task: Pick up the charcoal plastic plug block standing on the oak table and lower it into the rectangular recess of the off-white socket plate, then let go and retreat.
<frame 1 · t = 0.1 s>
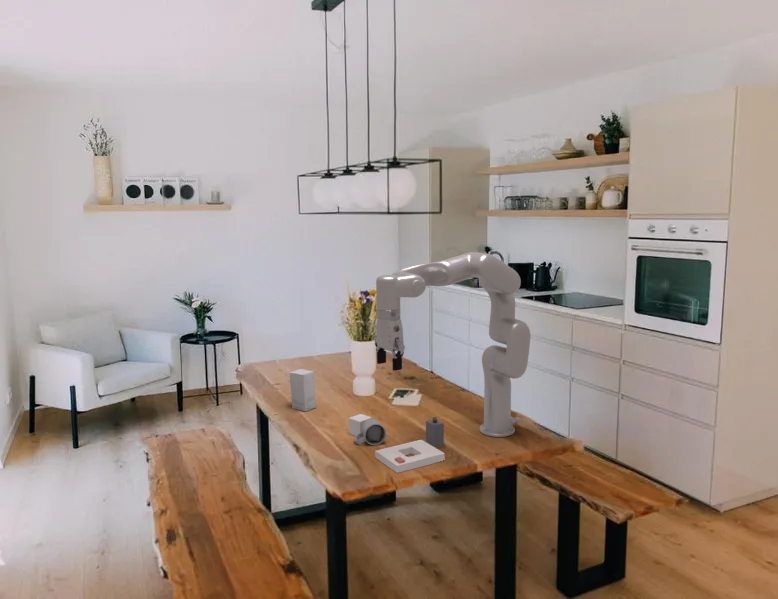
hand: (389, 366, 204), 31 cm above the table, fingers open, 9 cm apart
socket plate: (409, 458, 208), on the table
plug: (434, 444, 220), on the table
light grey cube: (360, 433, 232), on the table
ceramic mug: (369, 442, 223), on the table
skincare box: (303, 408, 260), on the table
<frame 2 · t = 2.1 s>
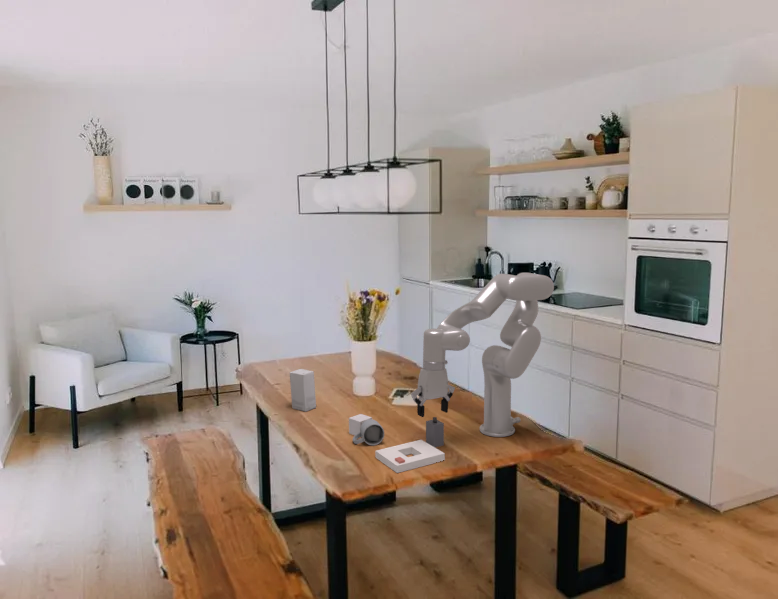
hand: (432, 413, 218), 11 cm above the table, fingers open, 9 cm apart
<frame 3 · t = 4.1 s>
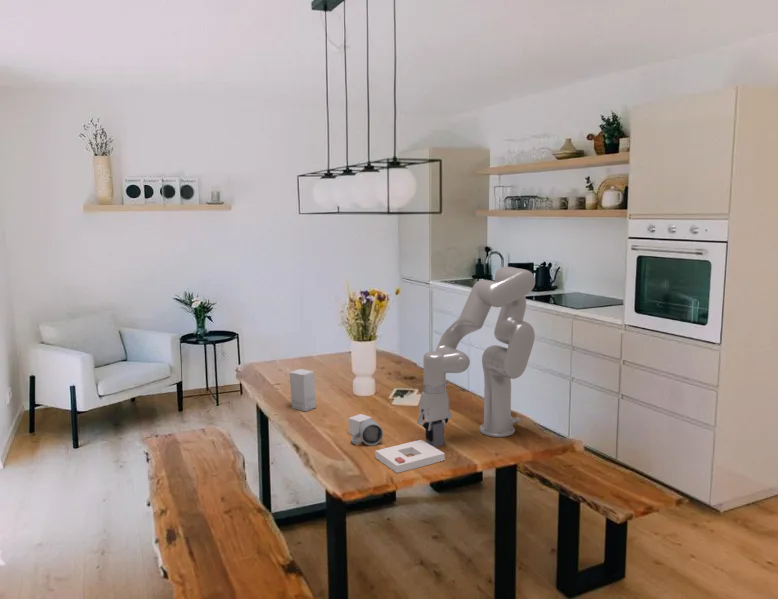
hand: (434, 438, 220), 2 cm above the table, fingers closed on plug, 4 cm apart
plug: (435, 444, 220), on the table, touching gripper
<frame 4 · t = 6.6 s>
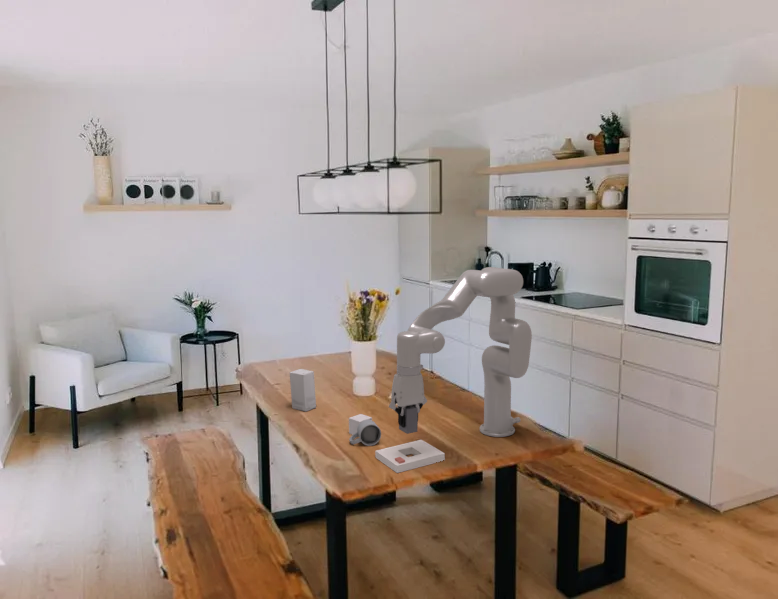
hand: (408, 424, 206), 12 cm above the table, fingers closed on plug, 4 cm apart
plug: (408, 430, 206), point 10 cm above the table, touching gripper
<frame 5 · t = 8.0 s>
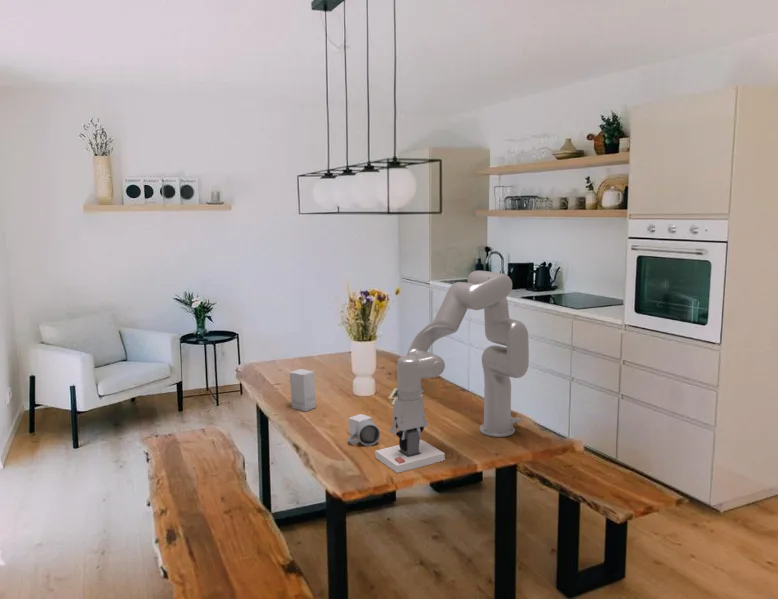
hand: (409, 447, 208), 4 cm above the table, fingers closed on plug, 4 cm apart
plug: (409, 453, 208), point 2 cm above the table, touching gripper
when the fingers open (3 cm above the table, at t = 9.1 s): plug drops 1 cm, resting in socket plate.
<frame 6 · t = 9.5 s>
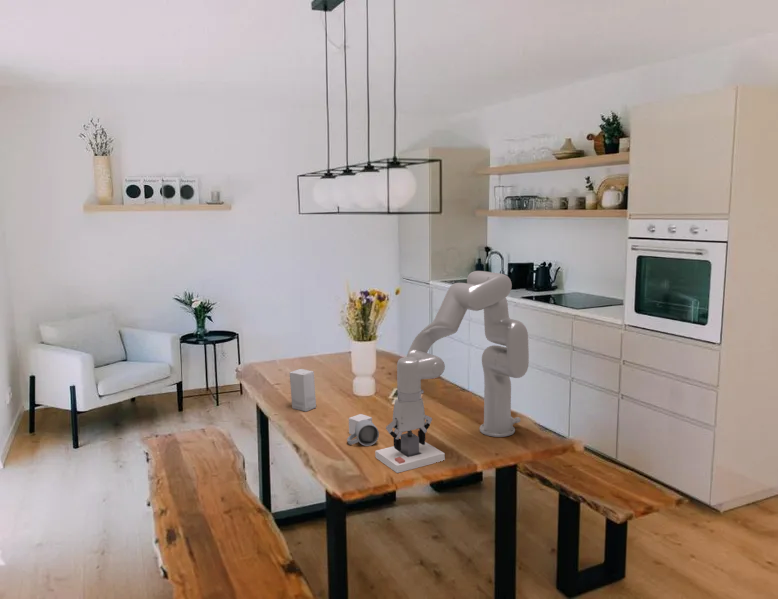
hand: (409, 446, 208), 4 cm above the table, fingers open, 8 cm apart
plug: (409, 459, 208), resting in socket plate
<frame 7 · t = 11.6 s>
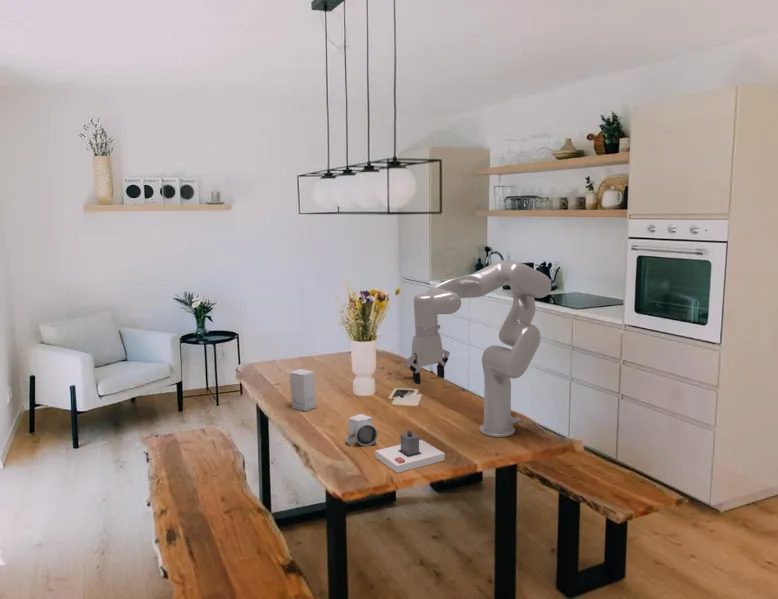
hand: (429, 380, 213), 24 cm above the table, fingers open, 9 cm apart
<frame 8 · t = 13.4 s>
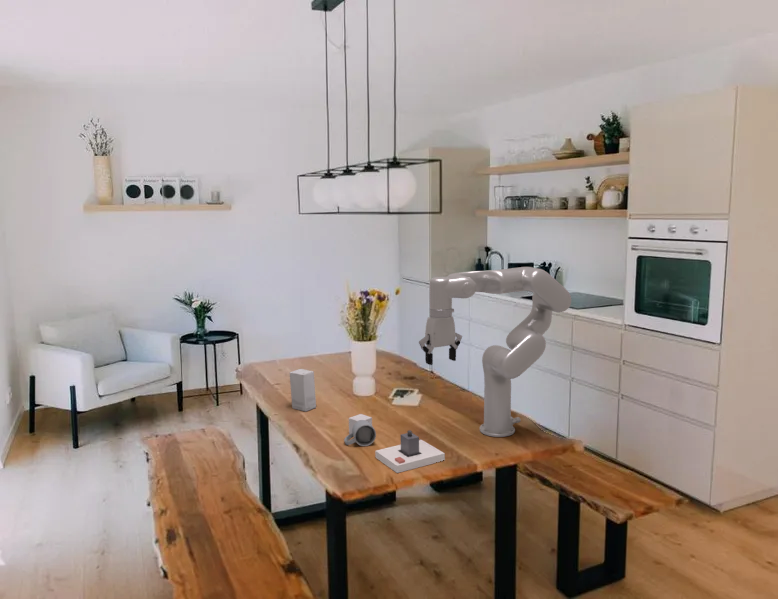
hand: (440, 362, 219), 28 cm above the table, fingers open, 9 cm apart
at the end: plug 0.1 cm off-centre on the socket plate, point 0.0 cm above the socket plate's base; plug tilted 0°; the gripper is holding nothing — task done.
